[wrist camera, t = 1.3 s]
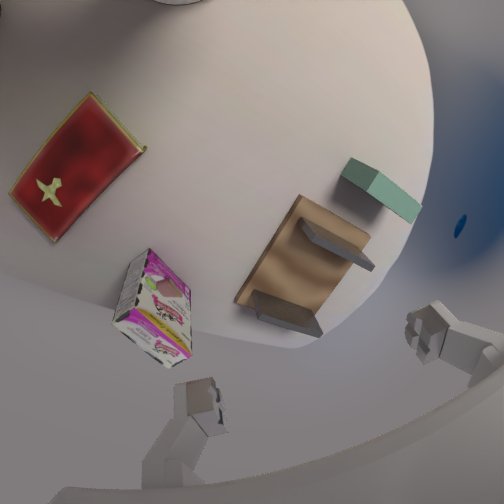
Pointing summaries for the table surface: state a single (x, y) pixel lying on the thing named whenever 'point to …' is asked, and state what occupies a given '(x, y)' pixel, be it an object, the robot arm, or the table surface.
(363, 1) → the table surface
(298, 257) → the shelf board
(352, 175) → the book
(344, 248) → the bookends
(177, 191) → the table surface
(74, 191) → the hardcover book
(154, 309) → the candy bar box
